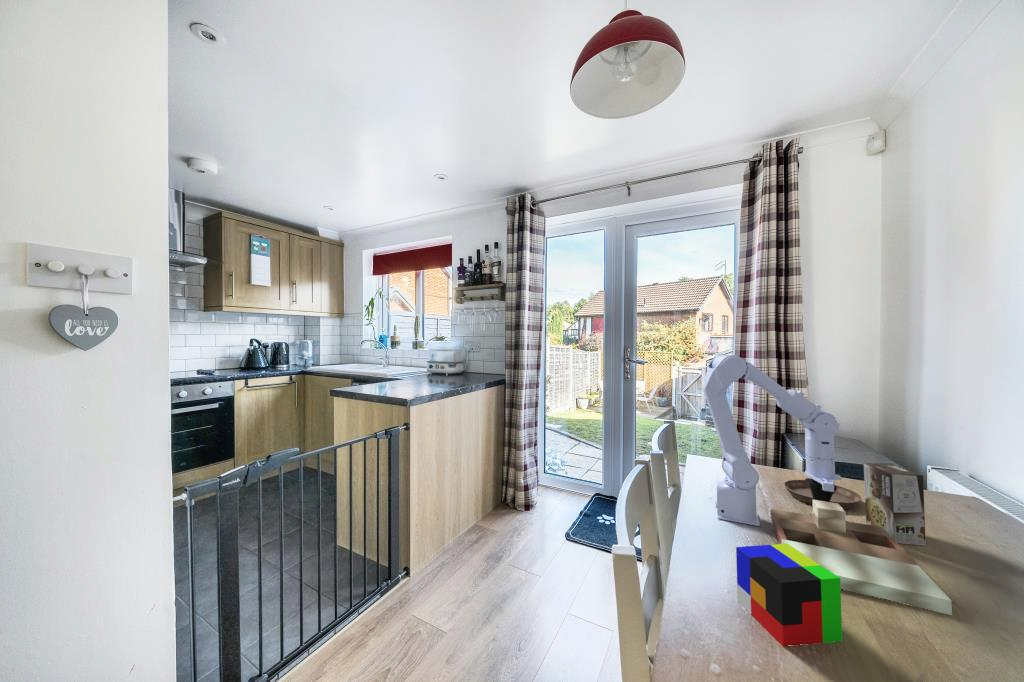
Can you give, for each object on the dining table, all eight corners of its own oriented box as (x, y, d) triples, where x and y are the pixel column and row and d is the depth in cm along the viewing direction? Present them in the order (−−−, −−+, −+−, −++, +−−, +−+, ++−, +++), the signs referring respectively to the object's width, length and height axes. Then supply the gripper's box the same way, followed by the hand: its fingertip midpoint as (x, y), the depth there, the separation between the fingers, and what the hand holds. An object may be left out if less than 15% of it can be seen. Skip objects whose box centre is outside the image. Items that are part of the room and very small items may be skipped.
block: (818, 528, 86) (817, 507, 86) (813, 519, 91) (812, 499, 91) (845, 533, 84) (845, 511, 84) (839, 523, 88) (838, 503, 88)
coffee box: (927, 546, 82) (925, 475, 83) (894, 543, 84) (892, 474, 84) (894, 526, 91) (892, 462, 91) (864, 524, 93) (862, 461, 93)
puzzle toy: (737, 602, 66) (736, 547, 66) (788, 597, 67) (786, 543, 67) (783, 647, 56) (781, 582, 56) (842, 641, 57) (840, 577, 57)
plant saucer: (783, 484, 120) (783, 474, 120) (855, 496, 110) (855, 486, 110) (785, 503, 106) (784, 492, 106) (868, 519, 96) (868, 507, 96)
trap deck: (791, 577, 72) (791, 565, 72) (770, 518, 97) (770, 508, 97) (951, 615, 62) (951, 600, 62) (882, 537, 86) (882, 527, 86)
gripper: (850, 467, 85) (851, 525, 85) (831, 451, 97) (832, 501, 97) (811, 463, 88) (813, 519, 88) (798, 448, 101) (800, 496, 101)
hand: (821, 509), depth 93 cm, fingers closed
